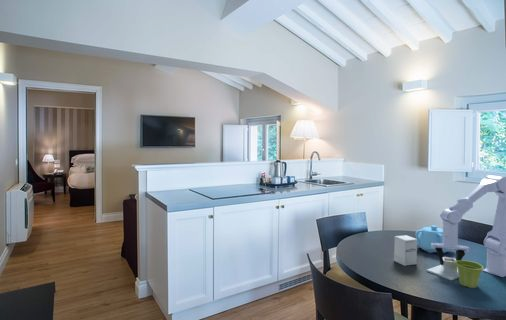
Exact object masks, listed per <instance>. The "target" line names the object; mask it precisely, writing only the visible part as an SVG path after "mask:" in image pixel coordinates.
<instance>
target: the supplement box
mask: <svg viewBox="0 0 506 320" xmlns="http://www.w3.org/2000/svg"><path fill="white" fill-rule="evenodd" d="M393 246H394V249H393V261H394V262H395V263H398V264H400V265H402V266H404V267H405V266H411V265H417V260H418V259H417V256H418V245H417V239H416V237H413V236H409V235H407V234H406V235H405V234H404V235H395V236H394V245H393Z"/></svg>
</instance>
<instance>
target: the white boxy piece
mask: <svg viewBox="0 0 506 320" xmlns="http://www.w3.org/2000/svg"><path fill="white" fill-rule="evenodd" d="M447 260H448V261H447ZM440 265H441V264H440ZM441 268H442V270H443V271H444V272H450V273H457V264H456V257H448V256H443V265H441Z"/></svg>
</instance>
